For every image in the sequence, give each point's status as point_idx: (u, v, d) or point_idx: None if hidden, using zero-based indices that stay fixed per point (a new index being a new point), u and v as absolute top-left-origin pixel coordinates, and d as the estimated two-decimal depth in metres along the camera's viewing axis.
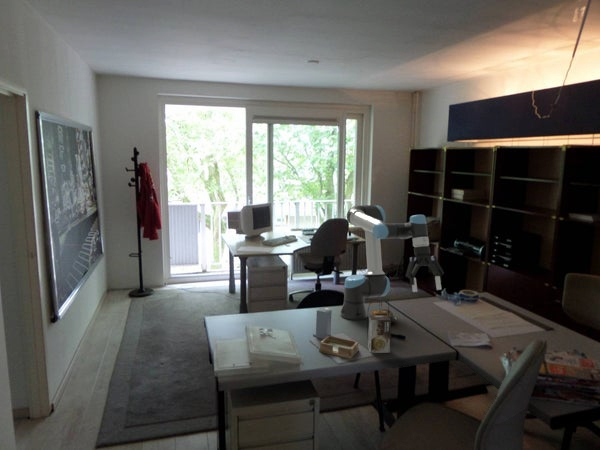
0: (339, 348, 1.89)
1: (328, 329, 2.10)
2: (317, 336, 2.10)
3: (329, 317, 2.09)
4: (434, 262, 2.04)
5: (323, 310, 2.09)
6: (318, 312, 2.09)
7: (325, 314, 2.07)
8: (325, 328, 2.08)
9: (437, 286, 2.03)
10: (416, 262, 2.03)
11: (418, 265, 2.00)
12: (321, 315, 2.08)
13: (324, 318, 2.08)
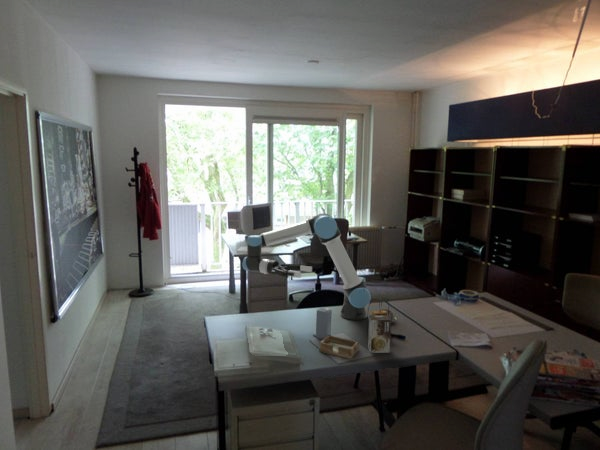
0: (339, 348, 1.89)
1: (328, 329, 2.10)
2: (317, 336, 2.10)
3: (329, 317, 2.09)
4: None
5: (323, 310, 2.09)
6: (318, 312, 2.09)
7: (325, 314, 2.07)
8: (325, 328, 2.08)
9: None
10: (284, 264, 2.21)
11: None
12: (321, 315, 2.08)
13: (324, 318, 2.08)
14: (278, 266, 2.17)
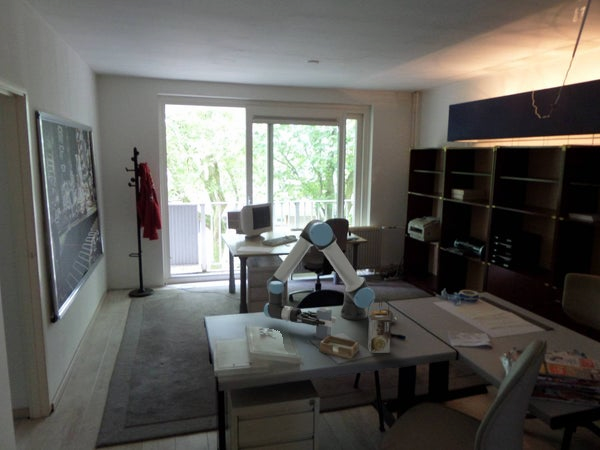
0: (339, 348, 1.89)
1: (328, 329, 2.10)
2: (317, 336, 2.10)
3: (329, 317, 2.09)
4: None
5: (323, 310, 2.09)
6: (318, 312, 2.09)
7: (325, 314, 2.07)
8: (325, 328, 2.08)
9: None
10: (307, 312, 2.17)
11: None
12: (321, 315, 2.08)
13: (324, 318, 2.08)
14: (301, 315, 2.14)
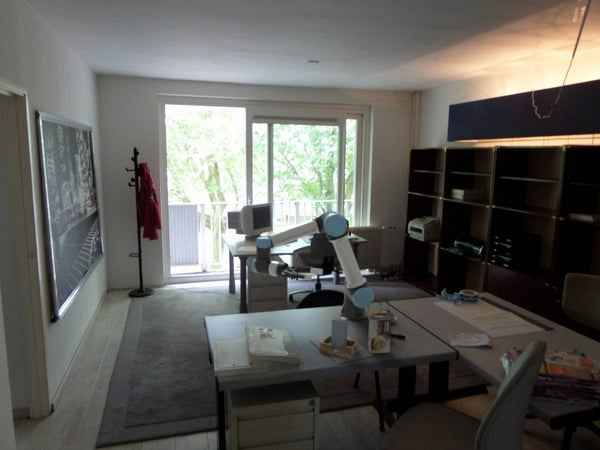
0: (339, 348, 1.89)
1: (345, 340, 1.93)
2: None
3: (345, 327, 1.93)
4: None
5: (339, 319, 1.93)
6: (333, 321, 1.92)
7: (341, 323, 1.91)
8: (341, 339, 1.91)
9: None
10: (294, 267, 2.16)
11: None
12: (337, 325, 1.92)
13: (340, 328, 1.91)
14: (288, 268, 2.12)
